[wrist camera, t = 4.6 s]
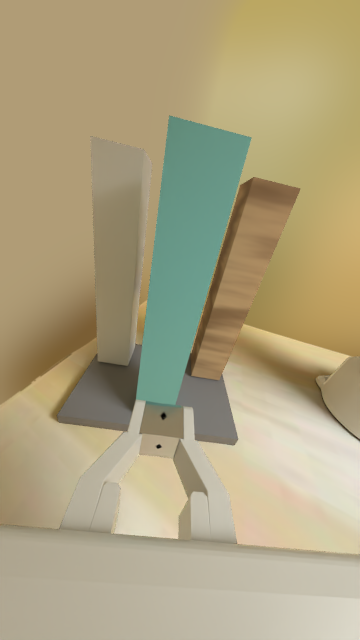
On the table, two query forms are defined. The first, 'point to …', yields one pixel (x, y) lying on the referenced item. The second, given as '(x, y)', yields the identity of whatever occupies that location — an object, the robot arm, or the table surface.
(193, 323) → the teal post
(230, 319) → the walnut post
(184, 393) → the board
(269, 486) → the table surface
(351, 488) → the table surface
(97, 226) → the cream post
